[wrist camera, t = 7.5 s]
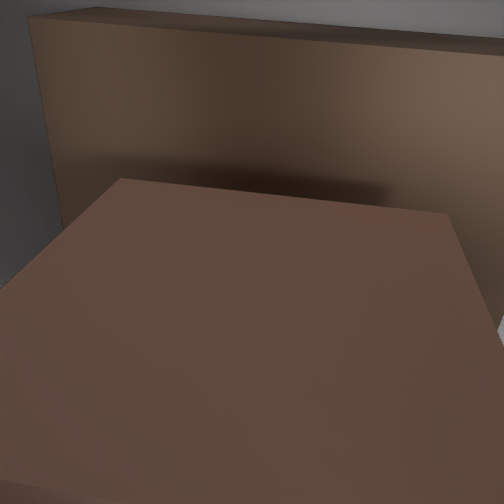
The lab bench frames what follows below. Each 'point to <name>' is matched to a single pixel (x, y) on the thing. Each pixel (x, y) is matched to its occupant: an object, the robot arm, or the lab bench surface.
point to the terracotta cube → (249, 356)
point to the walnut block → (280, 115)
